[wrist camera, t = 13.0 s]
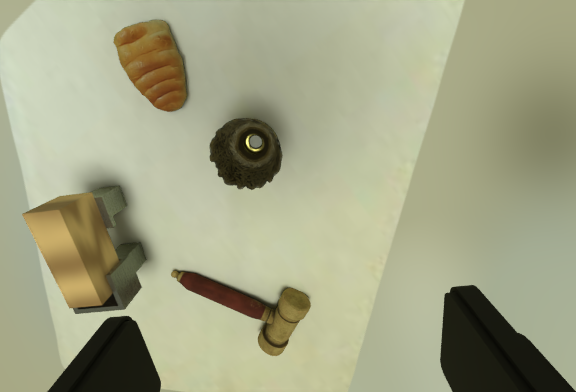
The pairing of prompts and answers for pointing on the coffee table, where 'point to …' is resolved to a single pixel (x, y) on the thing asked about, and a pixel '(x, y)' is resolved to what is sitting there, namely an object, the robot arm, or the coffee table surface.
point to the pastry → (153, 63)
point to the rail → (75, 247)
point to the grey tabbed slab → (109, 203)
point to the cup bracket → (121, 279)
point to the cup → (246, 153)
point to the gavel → (255, 309)
